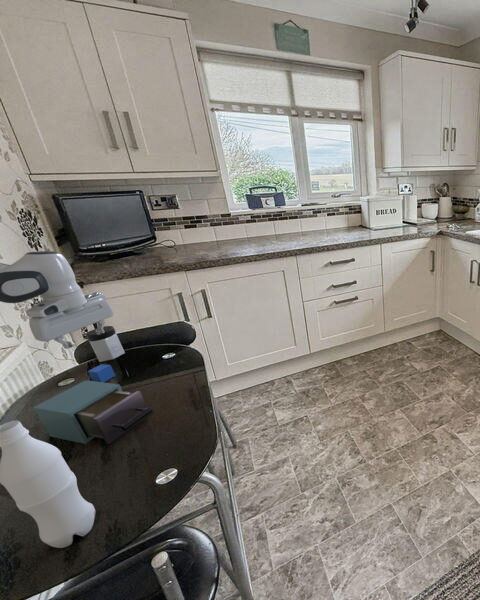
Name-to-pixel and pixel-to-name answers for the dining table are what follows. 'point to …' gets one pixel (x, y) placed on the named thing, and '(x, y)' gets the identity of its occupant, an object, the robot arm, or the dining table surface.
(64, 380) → the dining table surface
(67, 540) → the water bottle
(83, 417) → the purple drawer
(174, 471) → the dining table surface
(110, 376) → the blue cube
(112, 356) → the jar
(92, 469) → the dining table surface
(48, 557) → the dining table surface
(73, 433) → the drawer cabinet
